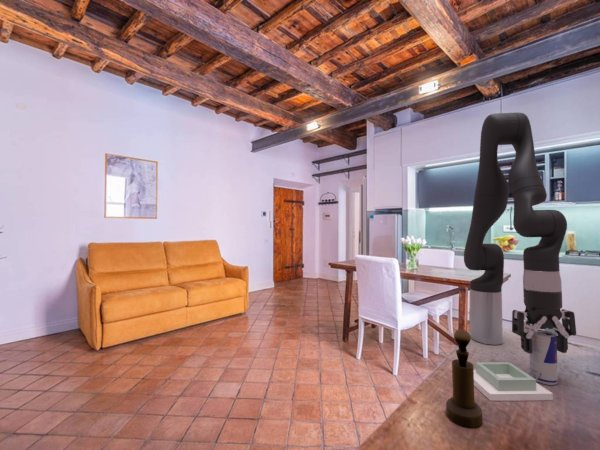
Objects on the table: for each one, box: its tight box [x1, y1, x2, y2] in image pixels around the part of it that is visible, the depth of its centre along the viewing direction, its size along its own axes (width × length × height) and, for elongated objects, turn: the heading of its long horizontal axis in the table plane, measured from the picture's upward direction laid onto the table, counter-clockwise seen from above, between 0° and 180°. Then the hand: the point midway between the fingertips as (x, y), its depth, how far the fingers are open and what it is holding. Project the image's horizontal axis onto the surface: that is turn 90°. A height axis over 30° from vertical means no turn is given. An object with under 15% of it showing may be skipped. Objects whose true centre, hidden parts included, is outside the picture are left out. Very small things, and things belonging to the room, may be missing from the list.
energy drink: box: [529, 329, 559, 386], centre depth 73 cm, size 5×5×12 cm
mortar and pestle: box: [445, 329, 483, 429], centre depth 59 cm, size 7×6×18 cm
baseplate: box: [474, 361, 554, 402], centre depth 70 cm, size 11×14×4 cm
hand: (544, 352), depth 73 cm, fingers open, 8 cm apart
